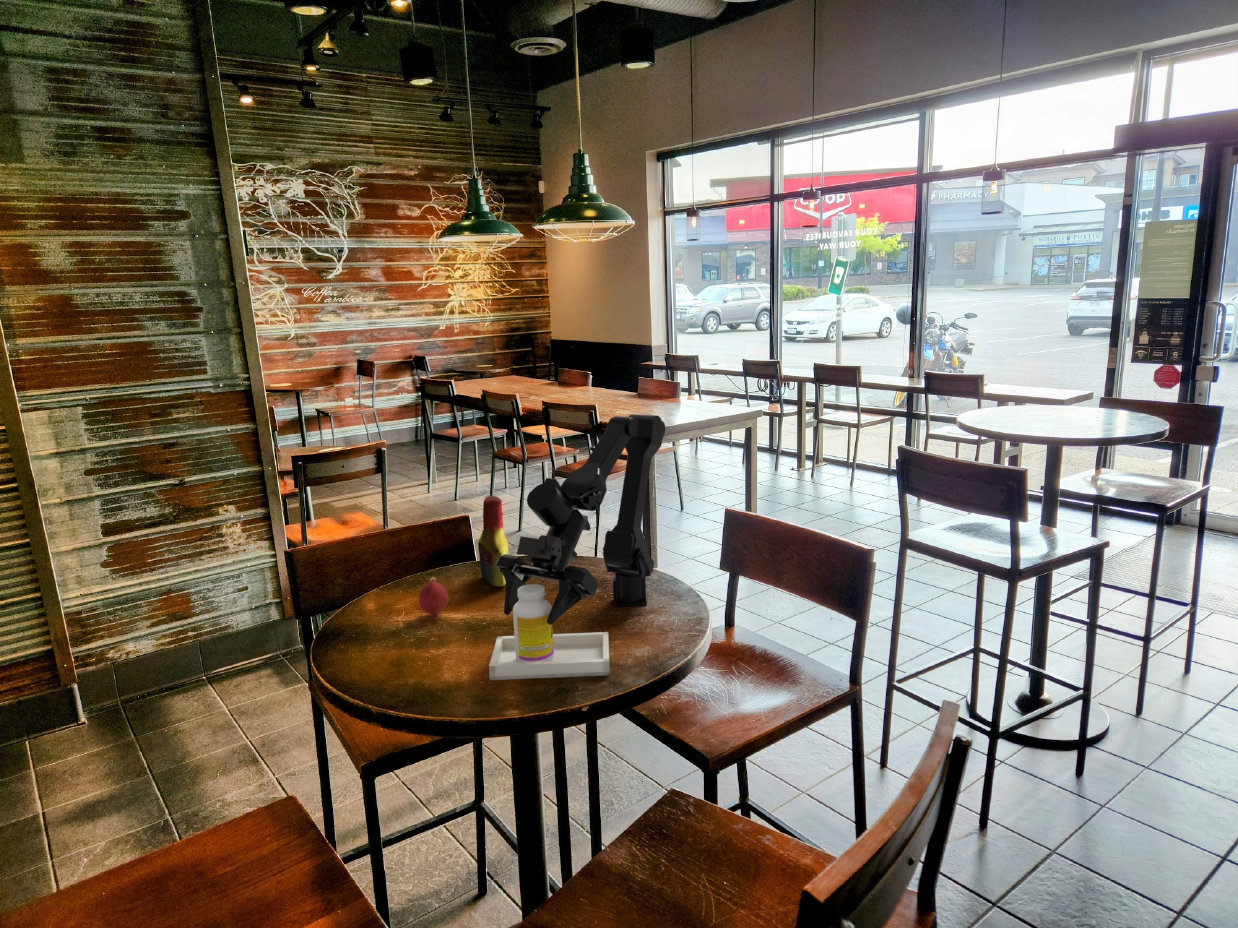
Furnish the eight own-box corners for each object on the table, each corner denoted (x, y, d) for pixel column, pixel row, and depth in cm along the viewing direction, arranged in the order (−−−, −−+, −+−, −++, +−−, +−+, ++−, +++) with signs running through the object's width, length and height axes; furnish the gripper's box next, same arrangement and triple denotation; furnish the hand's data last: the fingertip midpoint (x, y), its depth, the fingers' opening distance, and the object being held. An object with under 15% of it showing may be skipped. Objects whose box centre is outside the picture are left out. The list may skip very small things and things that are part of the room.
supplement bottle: (559, 662, 135) (556, 591, 133) (522, 670, 132) (518, 598, 130) (546, 647, 141) (543, 579, 139) (511, 655, 138) (506, 585, 136)
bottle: (514, 588, 173) (509, 500, 169) (485, 592, 172) (479, 503, 168) (505, 571, 185) (500, 489, 181) (478, 575, 183) (472, 491, 179)
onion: (434, 623, 155) (431, 584, 154) (414, 617, 158) (410, 580, 157) (455, 613, 160) (452, 575, 159) (435, 608, 163) (432, 571, 162)
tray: (608, 644, 143) (608, 631, 142) (609, 674, 131) (609, 661, 131) (498, 649, 142) (497, 636, 142) (489, 680, 131) (488, 666, 130)
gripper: (498, 510, 140) (460, 589, 133) (585, 522, 130) (549, 608, 123) (528, 541, 148) (493, 616, 141) (612, 554, 138) (579, 636, 131)
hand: (526, 618), depth 134 cm, fingers open, 9 cm apart
